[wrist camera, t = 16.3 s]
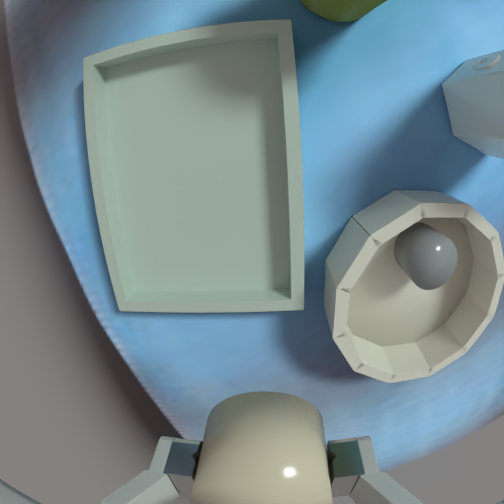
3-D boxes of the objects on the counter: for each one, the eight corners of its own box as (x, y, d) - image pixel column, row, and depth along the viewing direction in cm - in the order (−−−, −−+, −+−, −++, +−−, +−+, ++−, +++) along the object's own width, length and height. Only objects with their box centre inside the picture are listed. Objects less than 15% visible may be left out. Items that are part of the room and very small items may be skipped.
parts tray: (98, 62, 20) (83, 57, 17) (288, 30, 19) (290, 19, 16) (130, 297, 28) (119, 310, 25) (301, 294, 26) (303, 309, 24)
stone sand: (198, 389, 10) (175, 476, 6) (329, 388, 9) (344, 479, 6) (215, 454, 11) (203, 522, 8) (317, 454, 11) (322, 524, 7)
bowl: (325, 190, 23) (339, 203, 18) (484, 193, 22) (517, 206, 17) (320, 355, 29) (326, 390, 24) (455, 337, 27) (475, 364, 23)
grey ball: (395, 222, 23) (414, 236, 19) (439, 222, 22) (461, 235, 19) (391, 272, 24) (406, 292, 21) (433, 269, 24) (452, 287, 21)
